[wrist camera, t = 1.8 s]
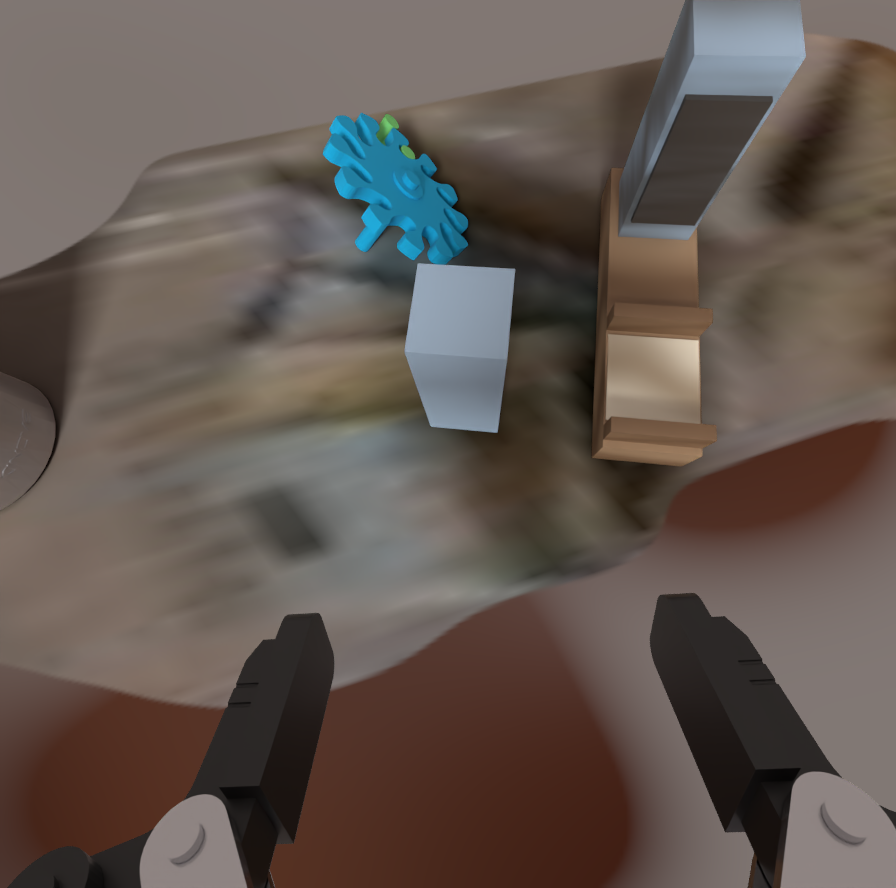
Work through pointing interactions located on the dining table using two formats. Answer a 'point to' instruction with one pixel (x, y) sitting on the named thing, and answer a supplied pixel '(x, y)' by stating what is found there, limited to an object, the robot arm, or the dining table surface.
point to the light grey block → (460, 343)
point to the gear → (395, 188)
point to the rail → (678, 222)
